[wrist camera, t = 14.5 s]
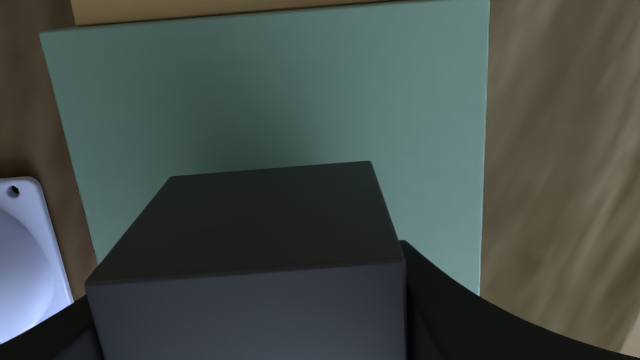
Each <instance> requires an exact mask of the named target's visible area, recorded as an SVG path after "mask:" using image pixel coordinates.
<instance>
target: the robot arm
mask: <svg viewBox="0 0 640 360" xmlns="http://www.w3.org/2000/svg"><path fill="white" fill-rule="evenodd" d="M12 186H15V187H17V188H18V190H19V194H16V193H15V192H13V190H12ZM399 242H400V245H401V248H402V251H403V254H404V257H405V260H406V289H407V328H408V360H640V358H637V357H633V356H628V355H624V354H620V353H616V352H612V351H609V350H605V349H602V348H599V347H596V346H593V345H589V344H586V343H583V342H580V341H577V340H574V339H571V338H568V337H565V336H563V335H560V334H557V333H554V332H552V331H549V330H547V329H545V328H542V327H540V326H537V325H535V324H533V323H530V322H528V321H526V320H523V319H521V318H519V317H517V316H515V315H513V314H511V313H509V312H507V311H505V310H503V309H501V308H499V307H498V306H496V305H494V304H492V303H490V302H488V301H486V300H485V299H483V298H481V297H480V296H478V295H476V294H475V293H473V292H472V291H470V290H469V289H467V288H466V287H464V286H463V285H461V284H460V283H458V282H457V281H455V280H454V279H453V278H451V277H450V276H448V275H447V274H446V273H444V272H443V271H442V270H441V269H439V268H438V267H437V266H435V265H434V264H433V263H432V262H431V261H429V260H428V259H427V258H426V257H425V256H423V255H422V254H421V253H420V252H419V251H418V250H416V249H415V248H414V247H413V246H412V245H411V244H409V243H408V242H407V241H406V240H399ZM0 360H104V356H103V353H102V349H101V345H100V342H99V338H98V334H97V331H96V327H95V324H94V320H93V316H92V313H91V309H90V306H89V302H88V298H87V295H84V296H83V297H81V298H80V299H78V300H77V301H75V302H74V300H73V296H72V293H71V289H70V286H69V282H68V279H67V275H66V272H65V268H64V265H63V261H62V258H61V254H60V251H59V247H58V243H57V240H56V236H55V233H54V229H53V226H52V222H51V219H50V215H49V212H48V208H47V205H46V201H45V198H44V194H43V190H42V187H41V185H40V183H39V182H38V181H37V180H36V179H34V178H32V177H28V176H24V177H11V178H0Z"/></svg>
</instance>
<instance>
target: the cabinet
mask: <svg viewBox="0 0 640 360" xmlns="http://www.w3.org/2000/svg"><path fill="white" fill-rule="evenodd" d="M489 18H490V0H403V1H391V2H378V3H366V4H354V5H342V6H329V7H317V8H305V9H292V10H280V11H268V12H256V13H243V14H231V15H219V16H207V17H194V18H182V19H170V20H158V21H145V22H133V23H121V24H108V25H96V26H84V27H78V26H76V27H67V28H59V29H50V30H42V31H40V32H39V37H40V41H41V45H42V49H43V53H44V57H45V61H46V64H47V68H48V72H49V76H50V80H51V84H52V88H53V92H54V96H55V99H56V103H57V107H58V111H59V115H60V119H61V123H62V127H63V131H64V135H65V138H66V142H67V146H68V150H69V154H70V158H71V162H72V166H73V170H74V173H75V177H76V181H77V185H78V189H79V193H80V197H81V201H82V205H83V209H84V212H85V216H86V220H87V224H88V228H89V232H90V236H91V240H92V244H93V247H94V251H95V255H96V259H97V263H98V265H99V264H100V262H101V261H102V260H103V259H104V258H105V256H106V255H107V254H108V253H109V251H110V250H111V249H112V248H113V246H114V245H115V244H116V243H117V241H118V240H119V239H120V238H121V237H122V235H123V234H124V233H125V232H126V230H127V229H128V228H129V227H130V225H131V224H132V223H133V222H134V221H135V219H136V218H137V217H138V216H139V214H140V213H141V212H142V211H143V209H144V208H145V207H146V206H147V204H148V203H149V202H150V201H151V200H152V198H153V197H154V196H155V195H156V193H157V192H158V191H159V190H160V188H161V187H162V186H163V185H164V183H165V182H166V181H167V180H168V179H169V177H171V176H180V175H193V174H205V173H218V172H230V171H243V170H255V169H268V168H281V167H293V166H306V165H318V164H331V163H343V162H356V161H368V160H369V161H371V162H372V165H373V167H374V170H375V173H376V176H377V179H378V182H379V185H380V188H381V190H382V193H383V196H384V199H385V202H386V205H387V208H388V211H389V214H390V216H391V219H392V222H393V225H394V228H395V231H396V234H397V237H398V240H406V241H407V242H408V243H409V244H411V245H412V246H413V247H414V248H415V249H416V250H418V251H419V252H420V253H421V254H422V255H423V256H425V257H426V258H427V259H428V260H429V261H431V262H432V263H433V264H434V265H435V266H437V267H438V268H439V269H441V270H442V271H443V272H444V273H446V274H447V275H448V276H450V277H451V278H453V279H454V280H455V281H457V282H458V283H460V284H461V285H463V286H464V287H466V288H467V289H469V290H470V291H472V292H473V293H475V294H476V295H478V296H480V270H481V242H482V214H483V186H484V158H485V130H486V102H487V74H488V46H489Z"/></svg>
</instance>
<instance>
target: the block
mask: <svg viewBox="0 0 640 360" xmlns="http://www.w3.org/2000/svg"><path fill="white" fill-rule="evenodd" d="M84 287H85V291H86V295H87V298H88V302H89V306H90V309H91V313H92V316H93V320H94V324H95V327H96V331H97V334H98V338H99V342H100V345H101V349H102V353H103V356H104V360H408V328H407V289H406V260H405V257H404V254H403V251H402V248H401V245H400V242H399V240H398V237H397V234H396V231H395V228H394V225H393V222H392V219H391V216H390V214H389V211H388V208H387V205H386V202H385V199H384V196H383V193H382V190H381V188H380V185H379V182H378V179H377V176H376V173H375V170H374V167H373V165H372V162H371V161H369V160H368V161H356V162H343V163H331V164H318V165H306V166H293V167H281V168H268V169H255V170H243V171H230V172H218V173H205V174H193V175H180V176H171V177H169V179H168V180H167V181H166V182H165V183H164V185H163V186H162V187H161V188H160V190H159V191H158V192H157V193H156V195H155V196H154V197H153V198H152V200H151V201H150V202H149V203H148V204H147V206H146V207H145V208H144V209H143V211H142V212H141V213H140V214H139V216H138V217H137V218H136V219H135V221H134V222H133V223H132V224H131V225H130V227H129V228H128V229H127V230H126V232H125V233H124V234H123V235H122V237H121V238H120V239H119V240H118V241H117V243H116V244H115V245H114V246H113V248H112V249H111V250H110V251H109V253H108V254H107V255H106V256H105V258H104V259H103V260H102V261H101V262H100V264H99V265H98V266H97V267H96V269H95V270H94V271H93V272H92V274H91V275H90V276H89V277H88V279H87V280H86V281H85V284H84Z"/></svg>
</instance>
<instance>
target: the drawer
mask: <svg viewBox="0 0 640 360" xmlns="http://www.w3.org/2000/svg"><path fill="white" fill-rule="evenodd" d="M391 1H403V0H70V2H71V6H72V11H73V15H74V19H75V24H76V26H78V27H84V26H96V25H108V24H121V23H133V22H145V21H158V20H170V19H182V18H194V17H207V16H219V15H231V14H243V13H256V12H268V11H280V10H292V9H305V8H317V7H329V6H342V5H354V4H366V3H378V2H391Z"/></svg>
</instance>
